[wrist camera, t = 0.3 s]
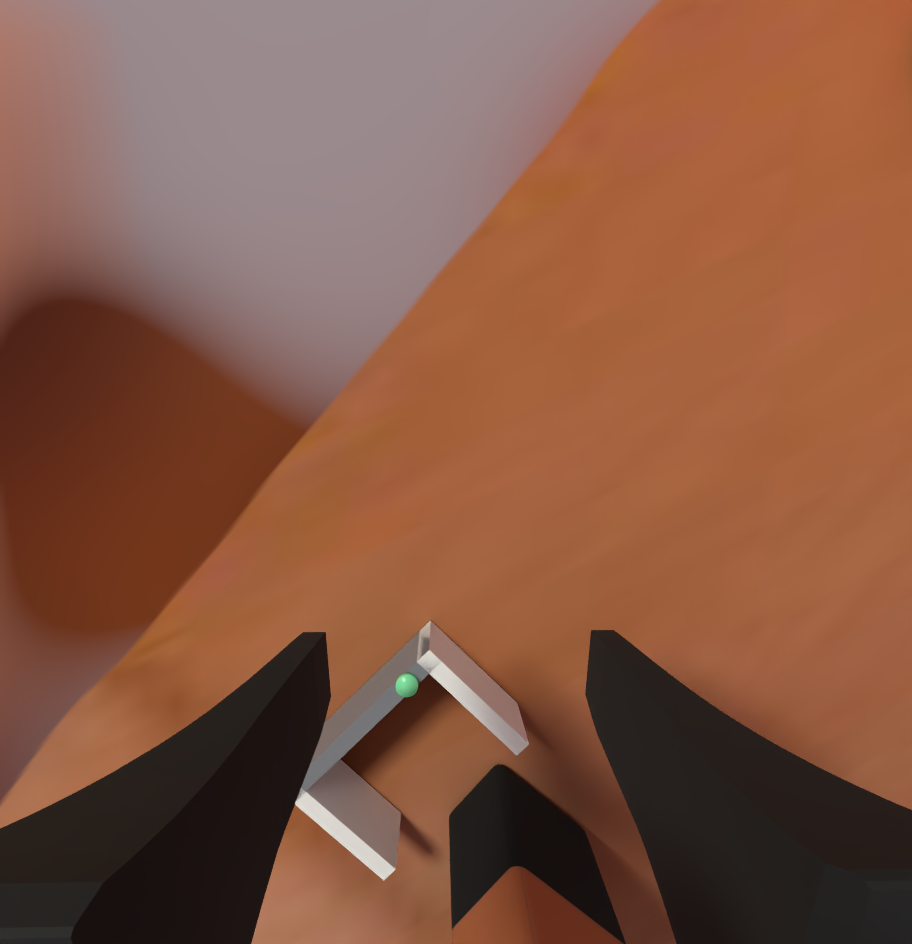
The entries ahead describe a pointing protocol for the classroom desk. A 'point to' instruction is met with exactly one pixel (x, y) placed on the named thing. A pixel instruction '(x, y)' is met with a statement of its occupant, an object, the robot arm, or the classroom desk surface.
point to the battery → (523, 871)
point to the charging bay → (332, 781)
